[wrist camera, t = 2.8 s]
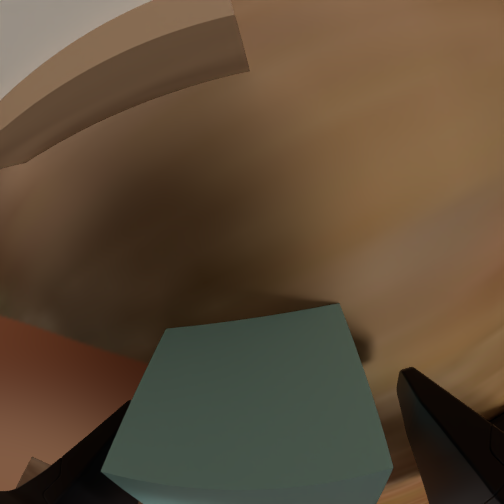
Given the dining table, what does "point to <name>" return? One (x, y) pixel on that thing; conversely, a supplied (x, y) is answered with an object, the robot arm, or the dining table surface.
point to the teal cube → (253, 417)
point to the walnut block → (119, 71)
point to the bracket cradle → (35, 471)
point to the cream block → (47, 31)
